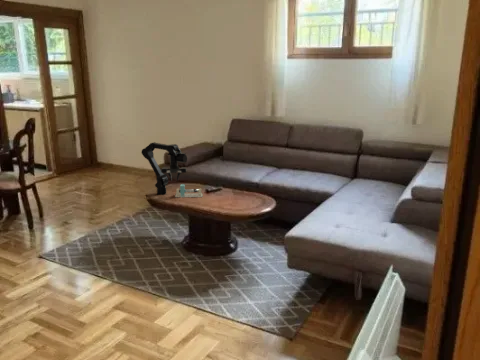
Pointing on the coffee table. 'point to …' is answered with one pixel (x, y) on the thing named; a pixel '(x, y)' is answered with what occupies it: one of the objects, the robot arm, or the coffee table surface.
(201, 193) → the pipe rig
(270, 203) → the coffee table surface
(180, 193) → the collar
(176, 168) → the robot arm
